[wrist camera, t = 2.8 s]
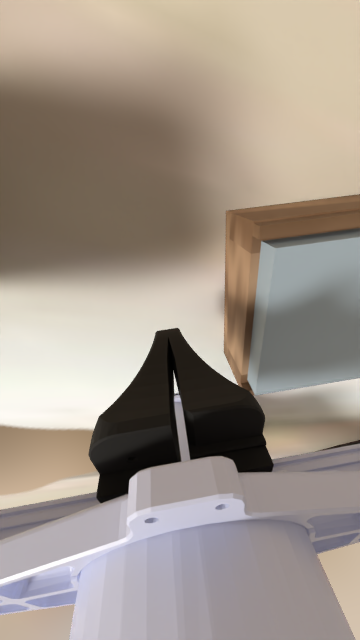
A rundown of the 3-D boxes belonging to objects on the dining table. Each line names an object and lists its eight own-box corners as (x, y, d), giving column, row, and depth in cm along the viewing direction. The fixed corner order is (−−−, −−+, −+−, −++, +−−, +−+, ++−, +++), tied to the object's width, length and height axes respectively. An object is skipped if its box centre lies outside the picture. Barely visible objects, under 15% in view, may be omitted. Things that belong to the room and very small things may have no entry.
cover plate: (381, 357, 17) (399, 371, 16) (247, 379, 17) (255, 395, 16) (458, 215, 12) (494, 219, 11) (261, 241, 11) (275, 248, 10)
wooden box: (351, 332, 22) (403, 370, 17) (223, 352, 21) (243, 397, 17) (409, 188, 15) (518, 190, 11) (226, 211, 15) (260, 223, 10)
